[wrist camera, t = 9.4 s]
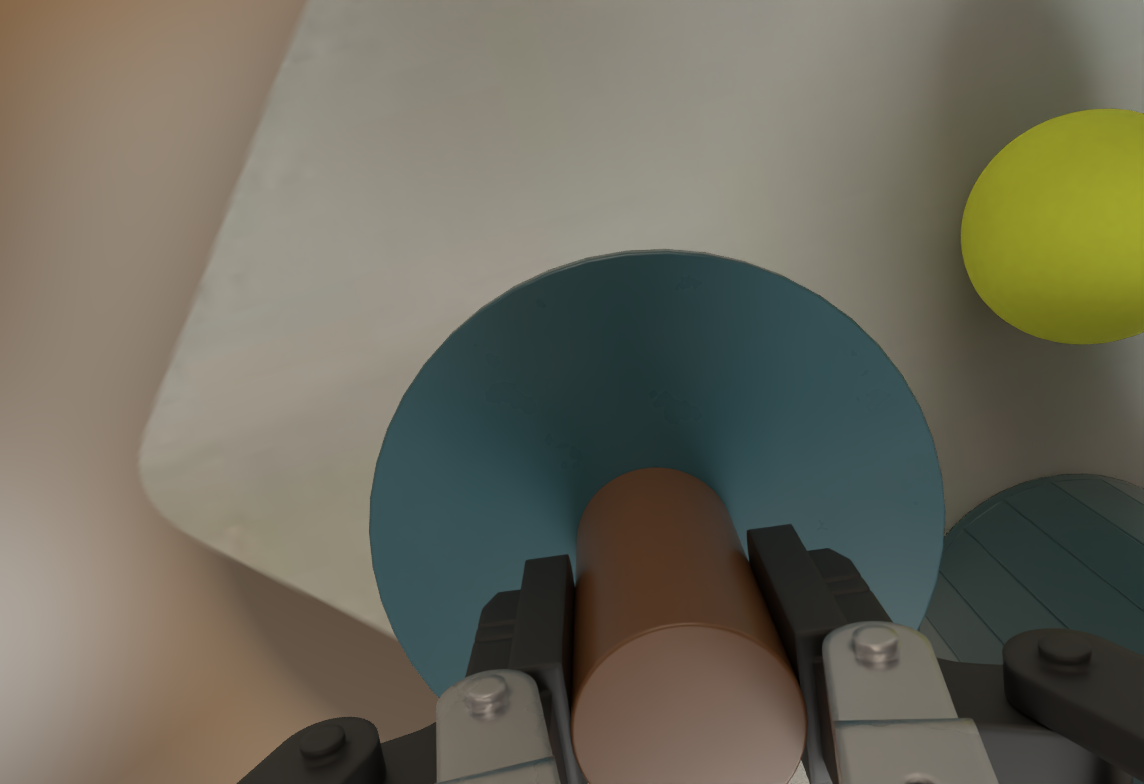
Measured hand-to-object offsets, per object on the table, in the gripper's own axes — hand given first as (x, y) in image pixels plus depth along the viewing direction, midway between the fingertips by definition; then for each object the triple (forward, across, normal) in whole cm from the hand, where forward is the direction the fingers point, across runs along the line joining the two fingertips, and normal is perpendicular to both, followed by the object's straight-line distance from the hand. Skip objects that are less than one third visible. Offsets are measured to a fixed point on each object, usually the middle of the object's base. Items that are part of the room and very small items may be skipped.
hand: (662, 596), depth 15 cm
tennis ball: (+12, -13, -3) cm, 18 cm away
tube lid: (+3, 0, 0) cm, 3 cm away
